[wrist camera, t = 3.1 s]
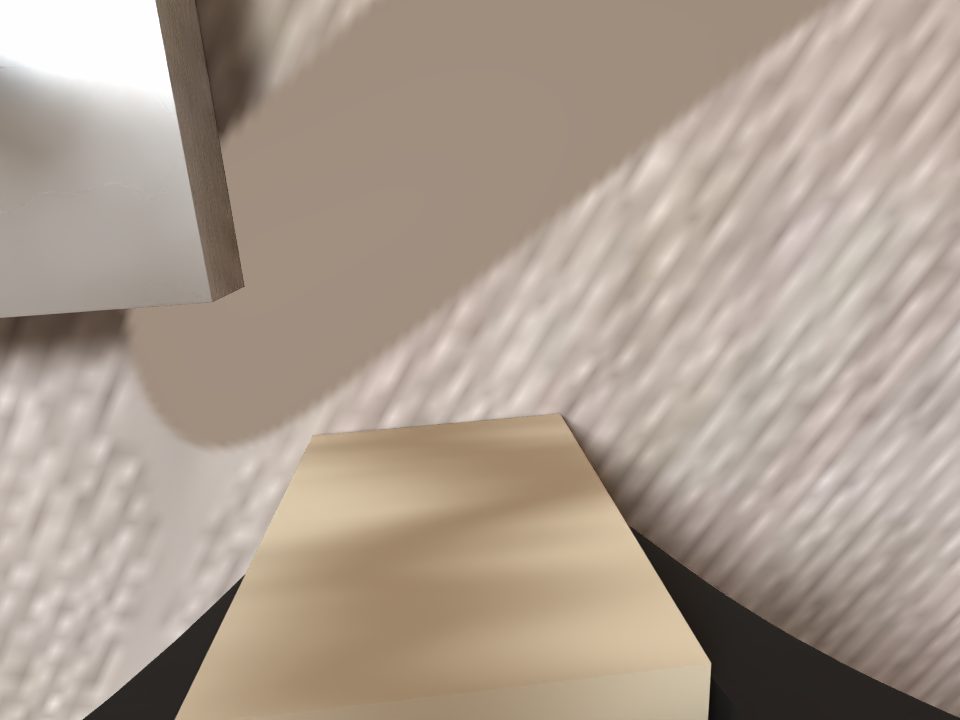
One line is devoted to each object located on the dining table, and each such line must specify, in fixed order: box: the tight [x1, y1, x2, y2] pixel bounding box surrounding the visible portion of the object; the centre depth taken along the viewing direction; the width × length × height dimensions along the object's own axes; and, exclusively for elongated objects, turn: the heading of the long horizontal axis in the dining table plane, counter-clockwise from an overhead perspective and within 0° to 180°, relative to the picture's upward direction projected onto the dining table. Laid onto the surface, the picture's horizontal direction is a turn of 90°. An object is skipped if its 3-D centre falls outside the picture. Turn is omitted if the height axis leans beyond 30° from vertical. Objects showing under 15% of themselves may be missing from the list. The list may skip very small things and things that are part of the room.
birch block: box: [175, 414, 711, 720], centre depth 8 cm, size 4×4×6 cm
